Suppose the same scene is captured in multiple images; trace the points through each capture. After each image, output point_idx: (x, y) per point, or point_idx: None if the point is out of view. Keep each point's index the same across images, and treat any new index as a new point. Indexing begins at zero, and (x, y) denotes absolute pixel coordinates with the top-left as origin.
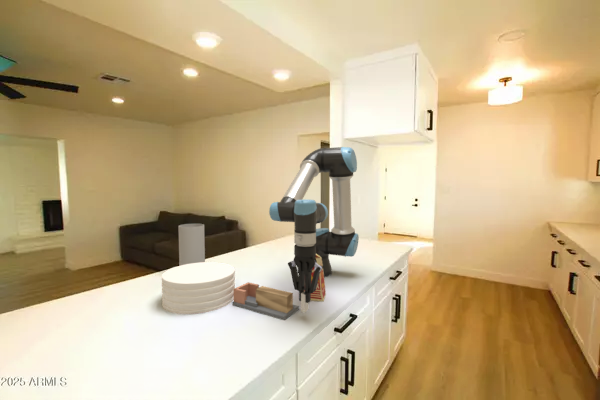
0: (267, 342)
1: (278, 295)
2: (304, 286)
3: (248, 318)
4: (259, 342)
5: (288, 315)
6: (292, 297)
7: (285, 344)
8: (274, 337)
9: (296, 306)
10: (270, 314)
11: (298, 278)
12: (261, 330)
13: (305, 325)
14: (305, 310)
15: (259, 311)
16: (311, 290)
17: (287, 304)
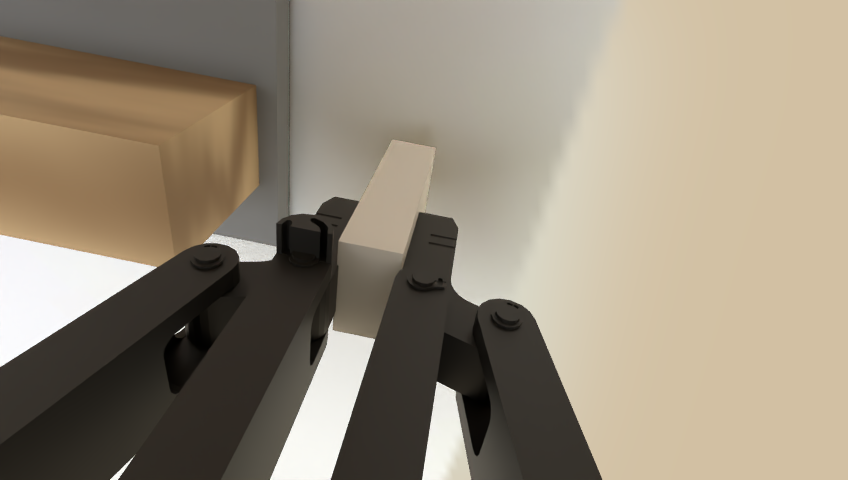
0: (342, 441)
1: (69, 242)
2: (315, 302)
3: (71, 275)
4: (309, 446)
5: (283, 185)
6: (192, 134)
7: (432, 440)
8: (349, 405)
9: (256, 10)
10: None
11: (116, 373)
12: None
13: (467, 256)
14: (424, 211)
15: None
16: (487, 412)
17: (223, 212)
